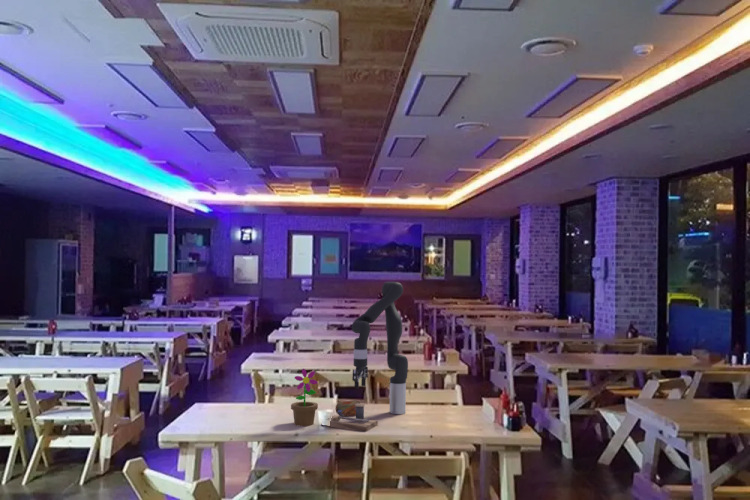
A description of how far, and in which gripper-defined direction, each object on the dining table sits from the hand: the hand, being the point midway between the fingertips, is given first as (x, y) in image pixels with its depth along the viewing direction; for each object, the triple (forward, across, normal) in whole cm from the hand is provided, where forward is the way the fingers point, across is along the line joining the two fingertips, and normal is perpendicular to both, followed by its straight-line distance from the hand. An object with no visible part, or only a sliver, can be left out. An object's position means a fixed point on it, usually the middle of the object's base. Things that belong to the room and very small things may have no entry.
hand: (360, 387), depth 358 cm
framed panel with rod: (+18, -12, 0) cm, 22 cm away
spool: (+18, 0, 0) cm, 18 cm away
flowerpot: (+18, -20, +23) cm, 36 cm away
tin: (+18, +8, +11) cm, 23 cm away
